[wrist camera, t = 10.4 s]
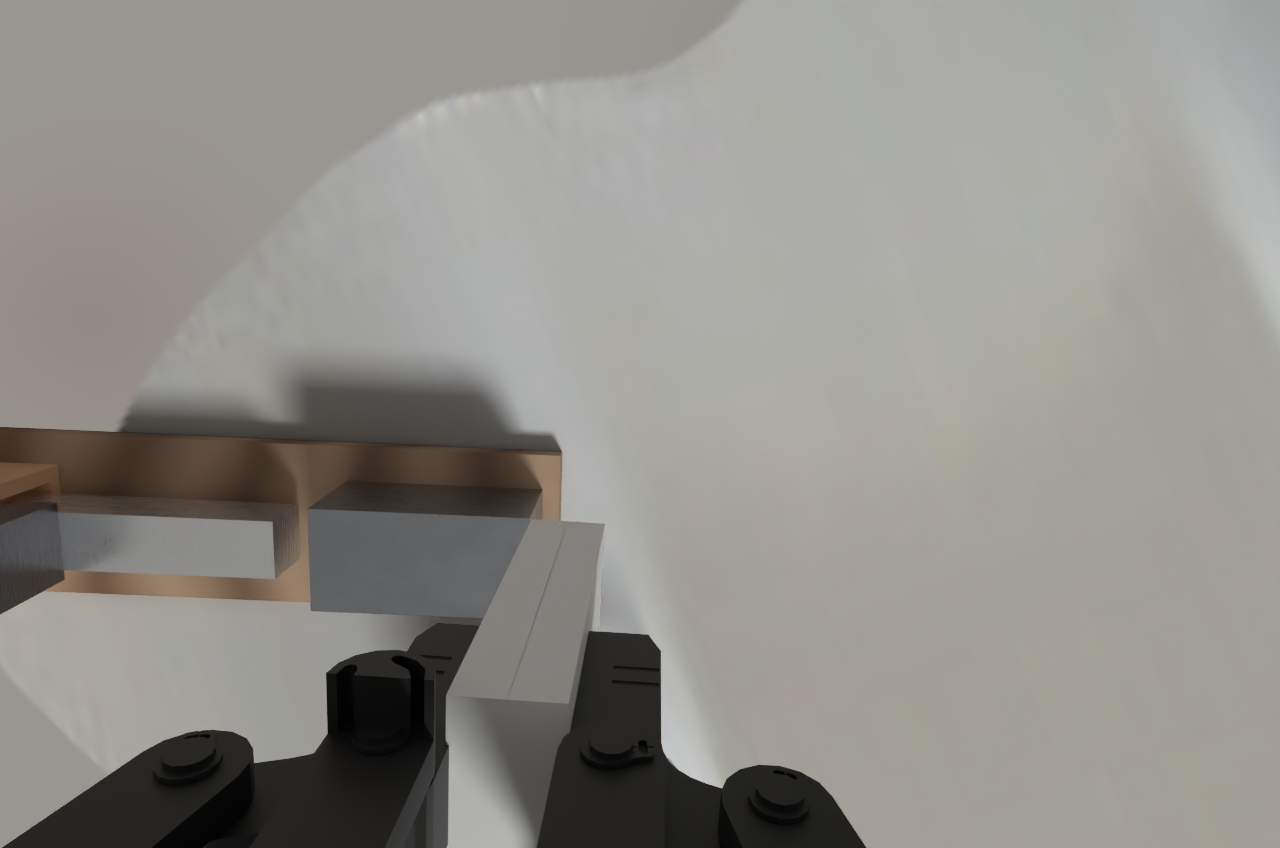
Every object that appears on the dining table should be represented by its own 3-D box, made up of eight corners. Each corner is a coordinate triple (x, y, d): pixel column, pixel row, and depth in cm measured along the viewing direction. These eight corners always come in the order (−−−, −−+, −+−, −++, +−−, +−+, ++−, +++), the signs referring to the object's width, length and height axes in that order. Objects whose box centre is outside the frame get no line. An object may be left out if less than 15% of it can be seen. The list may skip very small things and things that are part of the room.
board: (562, 451, 43) (560, 456, 42) (558, 605, 45) (556, 612, 44) (-43, 425, 43) (-59, 428, 42) (-24, 580, 45) (-39, 587, 44)
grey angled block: (298, 494, 42) (218, 546, 34) (300, 566, 42) (223, 633, 34) (-7, 481, 41) (-158, 531, 34) (2, 553, 42) (-145, 618, 34)
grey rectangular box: (542, 489, 42) (529, 518, 37) (540, 579, 43) (527, 620, 38) (346, 480, 42) (307, 509, 37) (349, 571, 43) (310, 611, 38)
